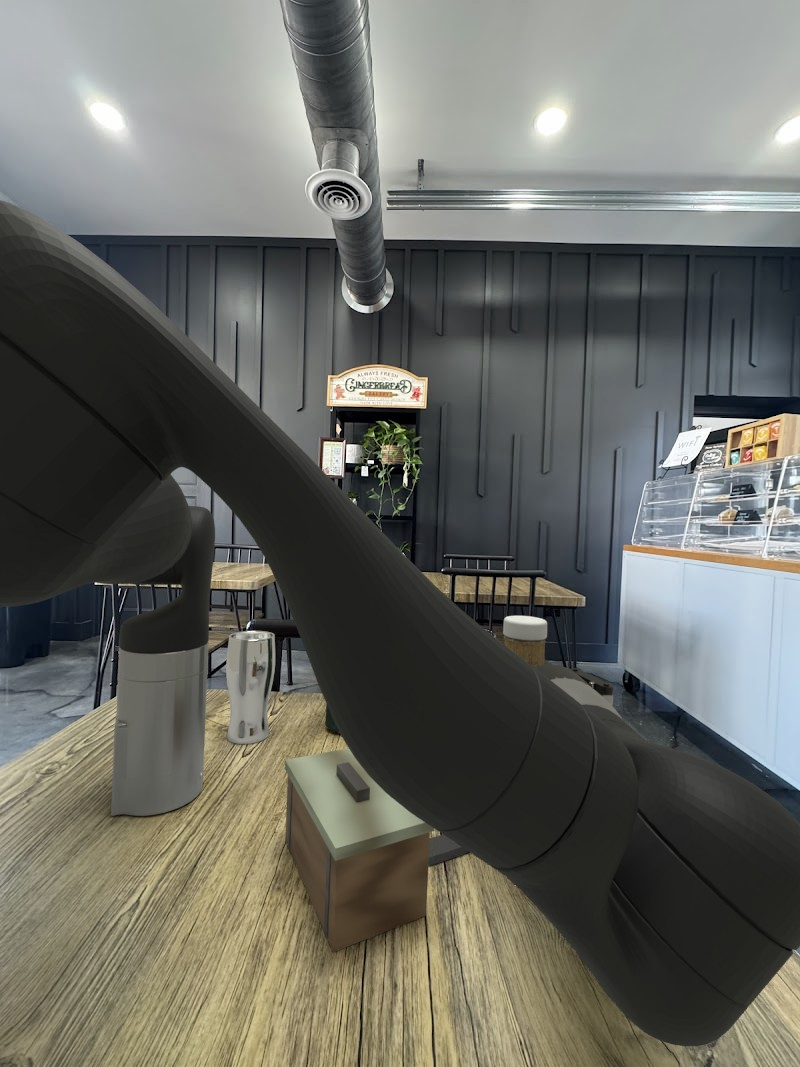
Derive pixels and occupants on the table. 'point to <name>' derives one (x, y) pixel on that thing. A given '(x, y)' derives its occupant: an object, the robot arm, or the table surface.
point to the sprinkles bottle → (526, 637)
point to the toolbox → (354, 848)
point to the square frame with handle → (443, 849)
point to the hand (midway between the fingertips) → (518, 665)
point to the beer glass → (249, 684)
